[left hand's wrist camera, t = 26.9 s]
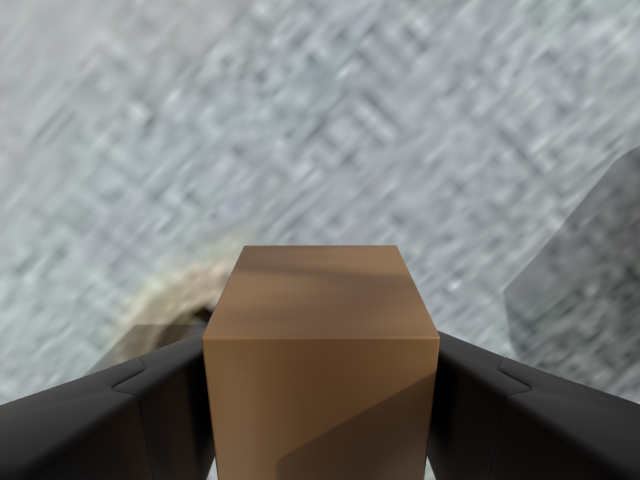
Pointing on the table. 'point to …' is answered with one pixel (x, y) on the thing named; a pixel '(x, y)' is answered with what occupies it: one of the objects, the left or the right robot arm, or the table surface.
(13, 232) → the table surface
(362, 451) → the block
